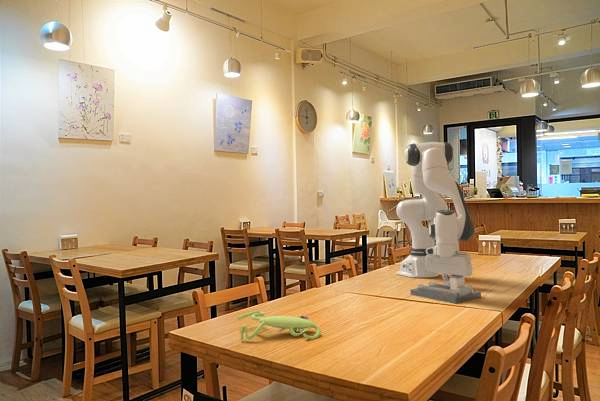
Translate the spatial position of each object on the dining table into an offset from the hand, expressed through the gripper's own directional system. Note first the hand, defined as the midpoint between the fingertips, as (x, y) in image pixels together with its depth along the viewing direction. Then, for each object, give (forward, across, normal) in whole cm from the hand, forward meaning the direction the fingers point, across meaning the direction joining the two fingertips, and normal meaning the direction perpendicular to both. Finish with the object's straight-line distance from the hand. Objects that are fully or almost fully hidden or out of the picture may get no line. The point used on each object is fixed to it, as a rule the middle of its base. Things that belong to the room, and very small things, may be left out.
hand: (448, 284), depth 179 cm
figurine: (+6, +5, +78) cm, 78 cm away
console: (+5, +2, 0) cm, 5 cm away
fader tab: (+3, -4, 0) cm, 5 cm away
